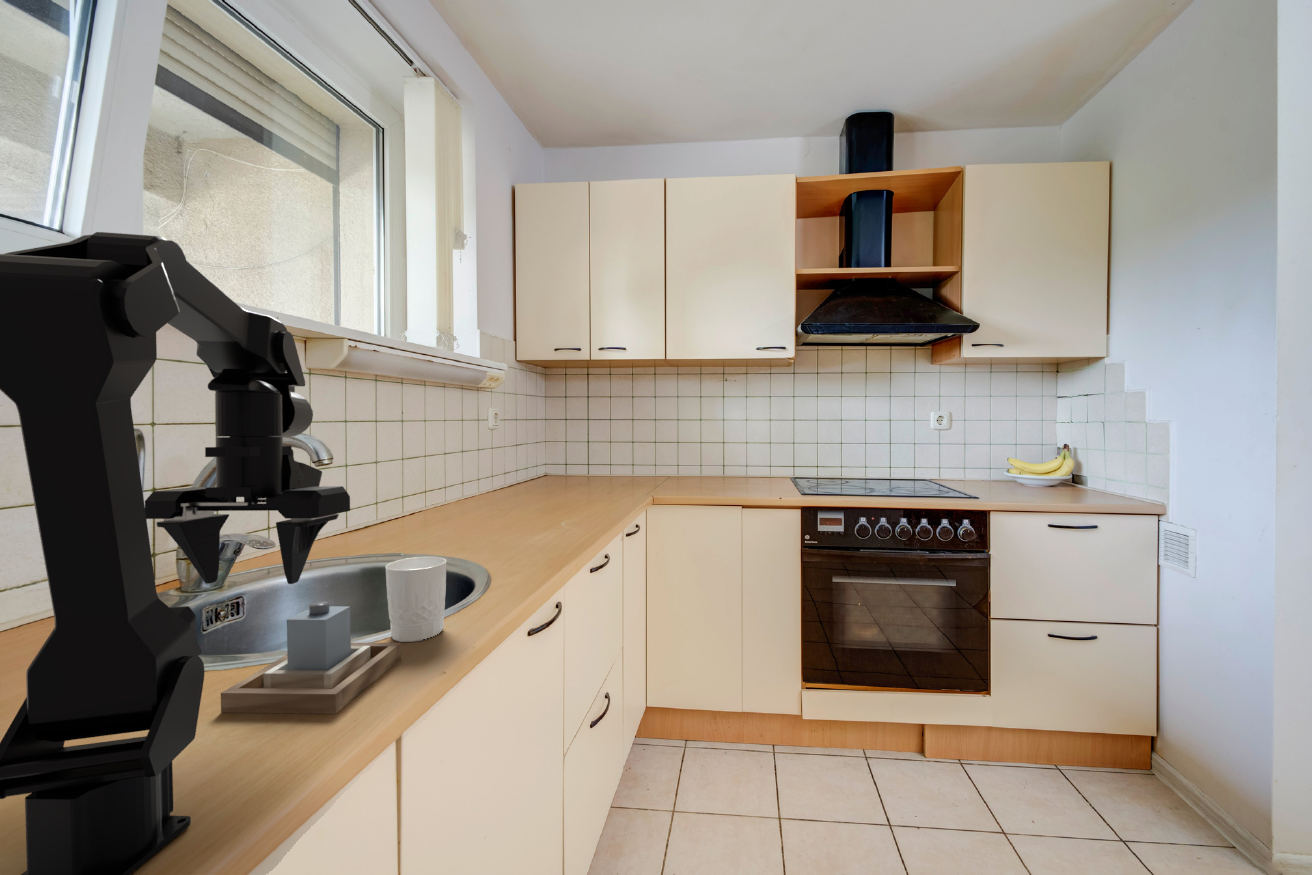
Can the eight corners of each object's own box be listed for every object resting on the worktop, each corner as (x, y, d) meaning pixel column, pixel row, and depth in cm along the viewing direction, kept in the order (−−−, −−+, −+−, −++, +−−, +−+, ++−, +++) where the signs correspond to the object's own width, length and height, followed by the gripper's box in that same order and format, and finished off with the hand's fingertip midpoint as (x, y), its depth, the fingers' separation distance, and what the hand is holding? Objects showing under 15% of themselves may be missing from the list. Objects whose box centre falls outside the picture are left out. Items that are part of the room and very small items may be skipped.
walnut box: (335, 713, 55) (335, 693, 55) (221, 712, 55) (220, 691, 55) (401, 658, 68) (400, 642, 68) (307, 657, 68) (307, 641, 68)
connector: (326, 681, 60) (325, 610, 60) (287, 681, 61) (286, 610, 60) (351, 664, 65) (349, 598, 65) (314, 663, 65) (313, 598, 65)
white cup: (415, 620, 81) (414, 554, 81) (459, 626, 79) (458, 558, 78) (373, 640, 74) (372, 567, 73) (420, 647, 71) (419, 572, 71)
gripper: (378, 436, 65) (379, 565, 65) (231, 437, 66) (233, 564, 66) (313, 436, 54) (315, 591, 54) (138, 438, 55) (140, 590, 55)
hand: (252, 582), depth 58 cm, fingers open, 9 cm apart
